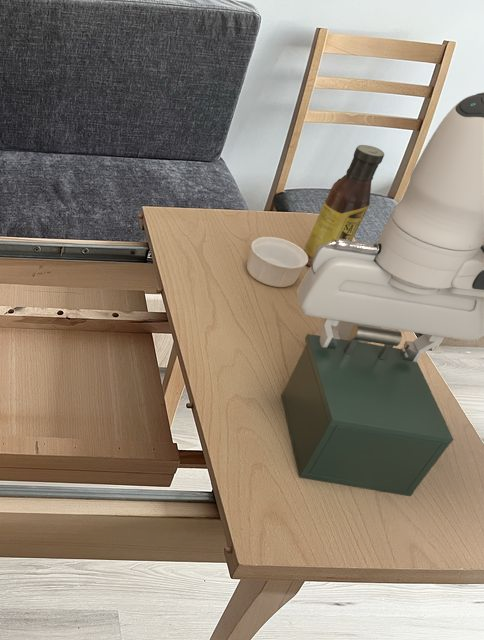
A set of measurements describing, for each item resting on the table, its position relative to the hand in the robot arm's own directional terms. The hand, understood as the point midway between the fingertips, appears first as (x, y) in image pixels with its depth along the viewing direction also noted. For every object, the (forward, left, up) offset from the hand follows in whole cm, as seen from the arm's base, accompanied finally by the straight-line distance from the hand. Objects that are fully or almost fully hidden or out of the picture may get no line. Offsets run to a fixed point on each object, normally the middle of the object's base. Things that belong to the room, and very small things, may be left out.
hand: (366, 351), depth 81 cm
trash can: (0, +5, -10) cm, 11 cm away
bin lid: (0, +5, -1) cm, 5 cm away
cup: (-2, -12, -10) cm, 16 cm away
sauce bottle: (-5, -37, -10) cm, 39 cm away
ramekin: (+4, -31, -10) cm, 33 cm away
